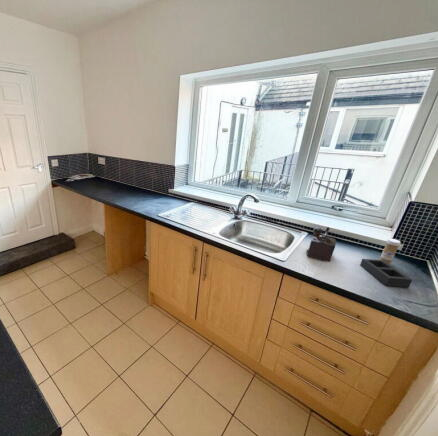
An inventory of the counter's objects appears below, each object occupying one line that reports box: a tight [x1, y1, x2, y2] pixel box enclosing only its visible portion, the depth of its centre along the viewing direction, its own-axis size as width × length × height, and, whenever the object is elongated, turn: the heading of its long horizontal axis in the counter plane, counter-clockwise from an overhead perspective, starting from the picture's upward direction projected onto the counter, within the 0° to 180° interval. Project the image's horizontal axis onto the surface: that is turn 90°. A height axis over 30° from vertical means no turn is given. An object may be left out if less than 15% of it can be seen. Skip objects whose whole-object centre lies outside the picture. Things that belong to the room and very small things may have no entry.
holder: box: [359, 258, 413, 288], centre depth 112 cm, size 9×16×4 cm, turn 173°
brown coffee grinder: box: [306, 226, 337, 263], centre depth 125 cm, size 16×11×18 cm
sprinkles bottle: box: [378, 238, 402, 265], centre depth 120 cm, size 5×5×13 cm
